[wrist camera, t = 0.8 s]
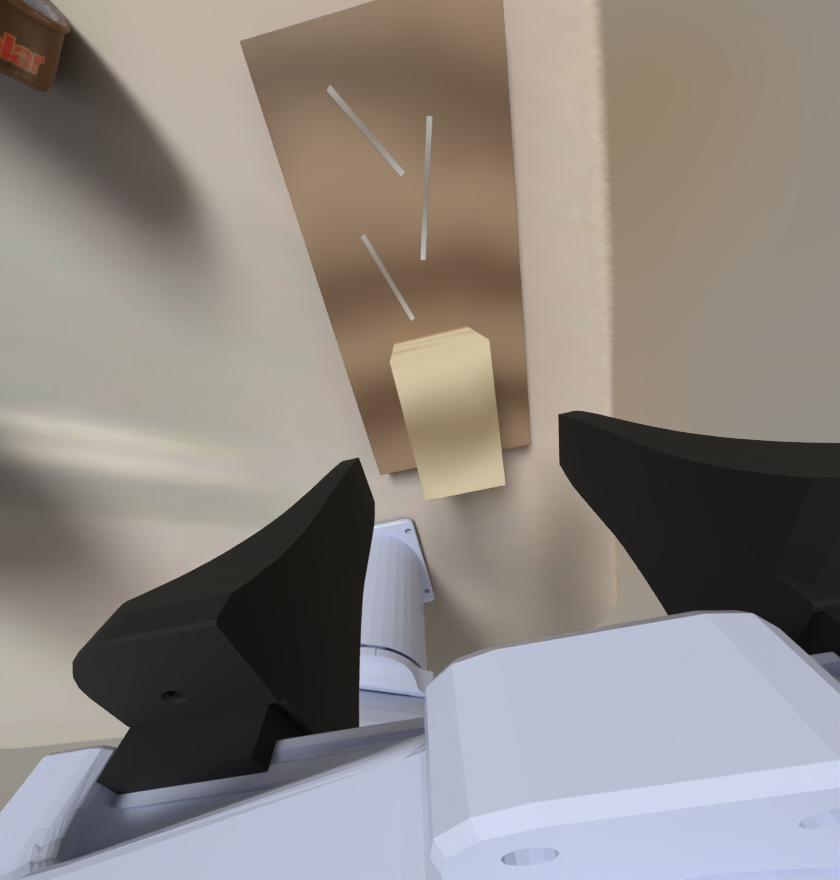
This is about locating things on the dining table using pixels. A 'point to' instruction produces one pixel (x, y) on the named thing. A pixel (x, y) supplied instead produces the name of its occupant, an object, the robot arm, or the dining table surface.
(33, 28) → the tin
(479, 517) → the dining table surface
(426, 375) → the block
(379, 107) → the board
